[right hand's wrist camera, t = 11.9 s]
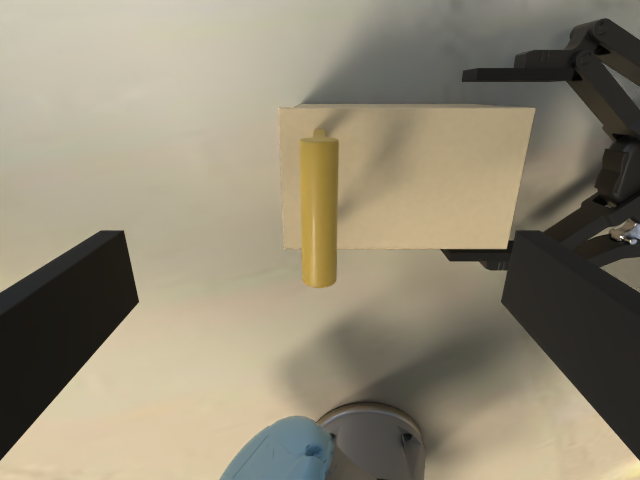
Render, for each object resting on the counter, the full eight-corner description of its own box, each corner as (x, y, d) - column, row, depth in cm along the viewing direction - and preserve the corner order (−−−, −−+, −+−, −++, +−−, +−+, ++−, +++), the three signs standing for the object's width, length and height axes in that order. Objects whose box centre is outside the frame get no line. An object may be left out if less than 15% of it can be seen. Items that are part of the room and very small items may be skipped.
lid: (284, 243, 27) (269, 307, 19) (279, 107, 24) (258, 114, 15) (500, 243, 27) (577, 307, 19) (527, 107, 24) (636, 114, 15)
